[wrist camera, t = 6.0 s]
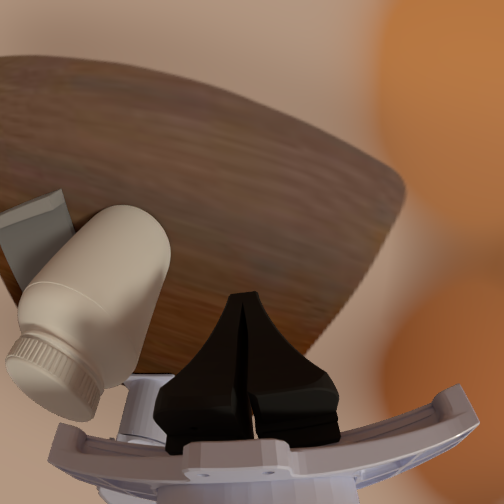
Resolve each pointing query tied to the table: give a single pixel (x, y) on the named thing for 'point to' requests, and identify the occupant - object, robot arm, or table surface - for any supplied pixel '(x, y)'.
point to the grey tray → (34, 234)
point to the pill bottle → (89, 312)
